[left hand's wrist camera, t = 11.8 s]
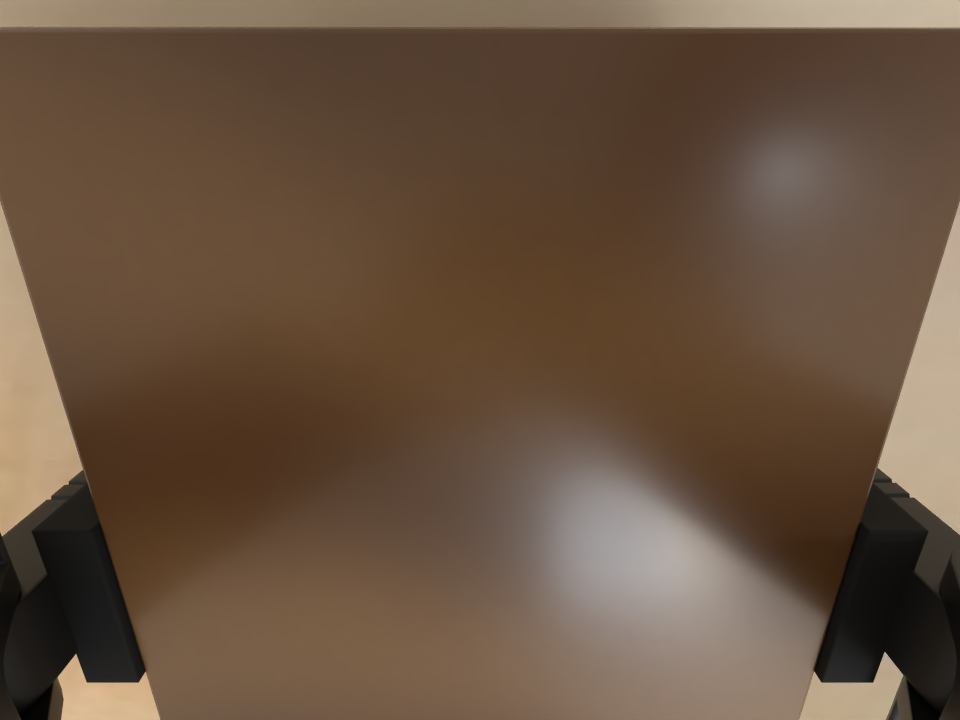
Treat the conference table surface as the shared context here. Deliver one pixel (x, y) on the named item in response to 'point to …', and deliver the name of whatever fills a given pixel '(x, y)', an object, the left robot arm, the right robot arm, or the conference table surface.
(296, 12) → the conference table surface
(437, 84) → the thick board
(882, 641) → the left robot arm
